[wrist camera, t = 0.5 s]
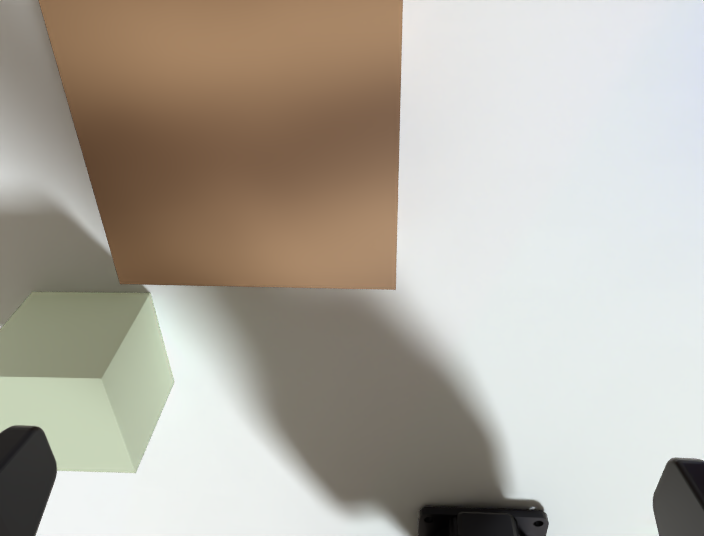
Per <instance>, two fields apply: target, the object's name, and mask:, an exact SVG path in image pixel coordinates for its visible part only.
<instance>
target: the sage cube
mask: <svg viewBox="0 0 704 536" xmlns="http://www.w3.org/2000/svg"><path fill="white" fill-rule="evenodd" d="M173 384H174V378H173V375H172V371H171V367H170V364H169V360H168V356H167V353H166V349H165V345H164V341H163V338H162V334H161V330H160V327H159V323H158V319H157V316H156V312H155V308H154V304H153V301H152V297H151V293H119V292H31V294H30V295H29V296H28V297H27V298H26V300H25V301H24V302H23V303H22V304H21V306H20V307H19V308H18V309H17V310H16V311H15V313H14V314H13V315H12V316H11V317H10V319H9V320H8V321H7V322H6V323H5V324H4V326H3V327H2V328H1V329H0V433H1V432H2V431H3V430H5V429H7V428H8V427H11V426H14V425H25V426H38V427H40V428H41V429H42V430H43V431H44V432H45V435H46V437H47V440H48V442H49V445H50V447H51V450H52V452H53V455H54V457H55V460H56V463H57V471H84V472H118V473H136V471H137V469H138V467H139V464H140V462H141V460H142V457H143V455H144V452H145V450H146V448H147V445H148V443H149V441H150V438H151V436H152V434H153V431H154V429H155V427H156V424H157V422H158V420H159V417H160V415H161V412H162V410H163V408H164V405H165V403H166V401H167V398H168V396H169V394H170V391H171V389H172V387H173Z"/></svg>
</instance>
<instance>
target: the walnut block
mask: <svg viewBox="0 0 704 536" xmlns="http://www.w3.org/2000/svg"><path fill="white" fill-rule="evenodd" d="M39 4H40V7H41V11H42V14H43V18H44V21H45V25H46V28H47V32H48V35H49V39H50V42H51V45H52V49H53V52H54V56H55V59H56V63H57V66H58V70H59V73H60V77H61V80H62V84H63V87H64V91H65V94H66V98H67V101H68V105H69V108H70V112H71V115H72V119H73V122H74V126H75V129H76V132H77V136H78V139H79V143H80V146H81V150H82V153H83V157H84V160H85V164H86V167H87V171H88V174H89V178H90V181H91V185H92V188H93V192H94V195H95V199H96V202H97V206H98V209H99V213H100V216H101V220H102V223H103V226H104V230H105V233H106V237H107V240H108V244H109V247H110V251H111V254H112V258H113V261H114V265H115V268H116V272H117V275H118V279H119V282H120V284H145V285H194V286H243V287H292V288H341V289H391V290H396V253H397V212H398V172H399V131H400V91H401V51H402V10H403V0H39Z"/></svg>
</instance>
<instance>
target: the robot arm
mask: <svg viewBox="0 0 704 536" xmlns="http://www.w3.org/2000/svg"><path fill="white" fill-rule="evenodd" d="M56 474H57V463H56V460H55V457H54V455H53V452H52V450H51V447H50V445H49V442H48V440H47V437H46V435H45V432H44V431H43V430H42V429H41V428H40V427H38V426H25V425H14V426H11V427H8V428H7V429H5V430H3V431H2V432H1V433H0V536H36V533H37V530H38V527H39V524H40V521H41V519H42V516H43V513H44V510H45V507H46V504H47V502H48V499H49V496H50V493H51V490H52V487H53V485H54V482H55V479H56ZM653 510H654V515H655V519H656V524H657V528H658V532H659V536H704V461H703V460H700V459H694V458H672V459H670V460H669V461H668V462H667V464H666V466H665V469H664V471H663V473H662V476H661V478H660V480H659V483H658V485H657V488H656V490H655V492H654V496H653ZM548 525H549V523H548V518H547V514H546V513H545V512H543V511H534V510H505V509H475V508H445V507H425V508H422V509H421V510H420V511H419V519H418V536H546V533H547V529H548Z"/></svg>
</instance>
